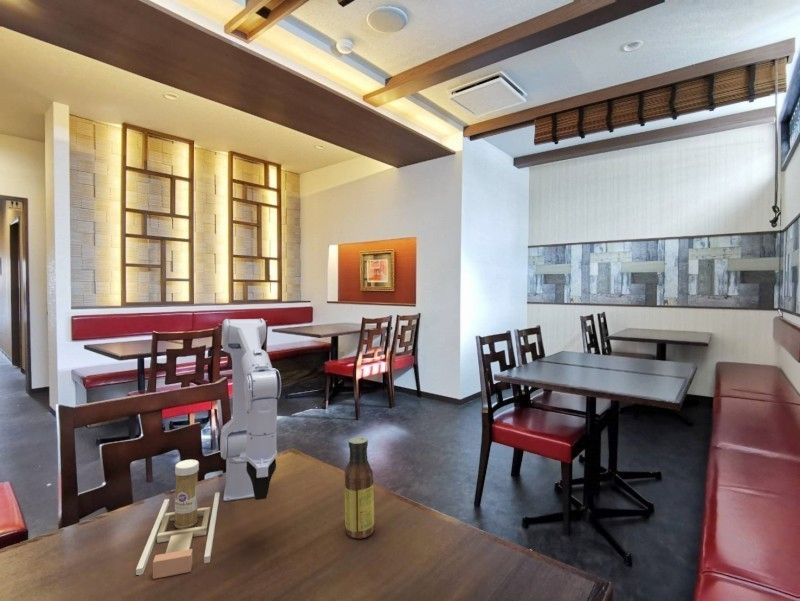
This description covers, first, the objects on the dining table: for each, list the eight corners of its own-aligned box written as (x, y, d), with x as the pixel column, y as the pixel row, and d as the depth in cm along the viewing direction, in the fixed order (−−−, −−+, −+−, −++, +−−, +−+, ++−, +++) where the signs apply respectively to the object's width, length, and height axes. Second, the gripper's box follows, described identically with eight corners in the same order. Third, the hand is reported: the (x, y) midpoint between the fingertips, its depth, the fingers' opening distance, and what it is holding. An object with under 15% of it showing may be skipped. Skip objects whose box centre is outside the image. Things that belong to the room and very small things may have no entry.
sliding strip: (210, 512, 94) (210, 499, 94) (199, 569, 75) (200, 553, 75) (165, 519, 91) (165, 506, 91) (142, 580, 72) (143, 563, 72)
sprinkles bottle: (172, 531, 87) (173, 468, 87) (176, 520, 91) (177, 459, 91) (196, 528, 88) (196, 466, 88) (199, 517, 93) (200, 457, 92)
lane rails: (219, 496, 102) (219, 492, 102) (209, 562, 77) (210, 555, 77) (164, 504, 98) (164, 499, 98) (135, 575, 73) (136, 569, 73)
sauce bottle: (376, 524, 91) (377, 435, 91) (371, 541, 85) (373, 445, 84) (347, 522, 92) (348, 433, 91) (340, 539, 85) (342, 444, 85)
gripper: (241, 421, 88) (240, 484, 89) (239, 445, 75) (238, 519, 75) (275, 419, 91) (274, 480, 91) (280, 441, 77) (278, 513, 77)
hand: (260, 497), depth 83 cm, fingers closed
